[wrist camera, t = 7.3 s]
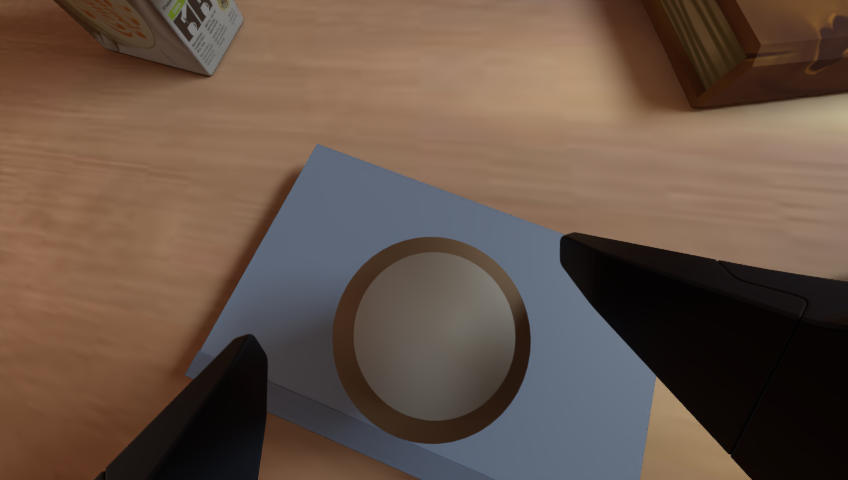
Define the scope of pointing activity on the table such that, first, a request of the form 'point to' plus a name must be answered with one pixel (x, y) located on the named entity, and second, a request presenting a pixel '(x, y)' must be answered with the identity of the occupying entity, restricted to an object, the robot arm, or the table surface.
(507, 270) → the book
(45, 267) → the table surface
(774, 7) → the diary
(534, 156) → the table surface
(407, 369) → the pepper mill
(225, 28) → the coffee box
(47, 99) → the table surface
